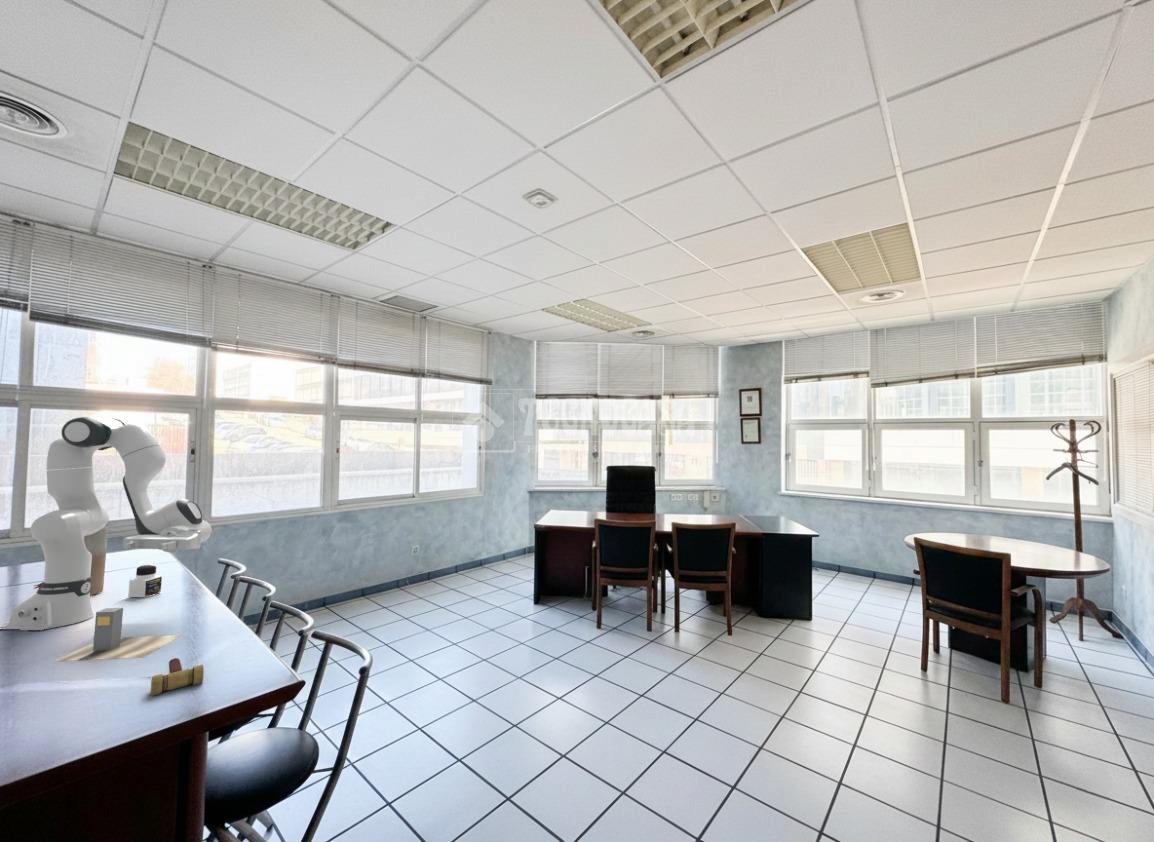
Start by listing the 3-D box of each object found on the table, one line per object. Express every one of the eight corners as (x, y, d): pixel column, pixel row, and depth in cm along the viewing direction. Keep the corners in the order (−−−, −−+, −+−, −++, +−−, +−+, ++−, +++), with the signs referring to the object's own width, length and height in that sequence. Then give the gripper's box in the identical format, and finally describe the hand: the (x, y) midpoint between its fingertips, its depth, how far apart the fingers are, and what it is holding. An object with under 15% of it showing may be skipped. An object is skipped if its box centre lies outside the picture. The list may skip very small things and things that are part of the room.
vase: (83, 590, 195) (89, 523, 196) (109, 590, 196) (115, 523, 197) (60, 598, 185) (66, 527, 187) (87, 597, 186) (93, 527, 188)
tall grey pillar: (92, 651, 135) (95, 612, 136) (103, 645, 139) (106, 608, 140) (109, 650, 136) (112, 612, 137) (120, 645, 140) (123, 607, 140)
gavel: (150, 656, 129) (196, 646, 136) (149, 673, 129) (195, 663, 136) (152, 679, 114) (204, 667, 121) (150, 699, 114) (203, 685, 121)
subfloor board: (53, 666, 128) (53, 661, 129) (102, 643, 144) (102, 638, 144) (143, 662, 132) (143, 657, 132) (181, 639, 148) (182, 635, 148)
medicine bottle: (145, 598, 186) (147, 568, 187) (127, 598, 187) (129, 567, 187) (161, 592, 194) (163, 563, 194) (144, 592, 194) (146, 563, 194)
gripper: (142, 529, 163) (109, 536, 150) (206, 530, 167) (180, 537, 153) (140, 547, 163) (107, 556, 149) (204, 548, 166) (178, 557, 152)
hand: (144, 546), depth 151 cm, fingers open, 8 cm apart
